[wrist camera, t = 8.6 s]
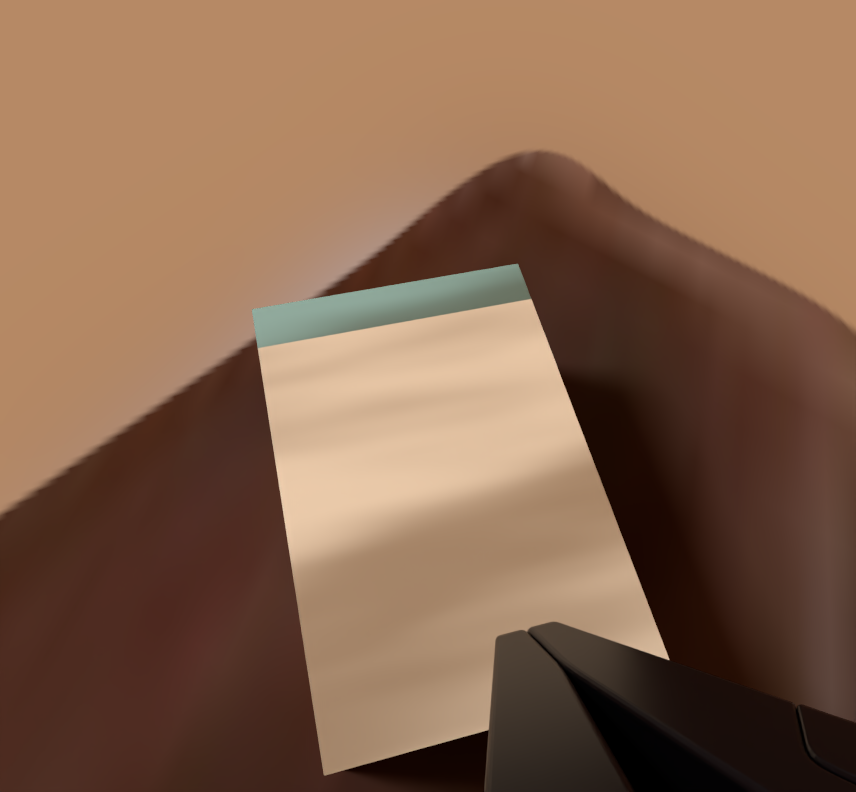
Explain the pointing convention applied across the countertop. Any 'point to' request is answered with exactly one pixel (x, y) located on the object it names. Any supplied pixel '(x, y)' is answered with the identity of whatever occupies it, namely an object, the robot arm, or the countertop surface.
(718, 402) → the countertop surface
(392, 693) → the birch block
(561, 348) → the countertop surface
